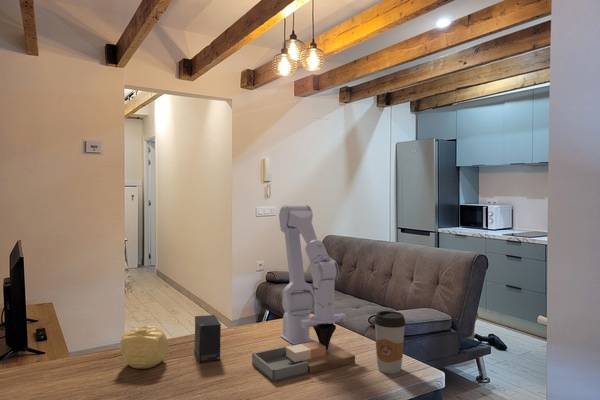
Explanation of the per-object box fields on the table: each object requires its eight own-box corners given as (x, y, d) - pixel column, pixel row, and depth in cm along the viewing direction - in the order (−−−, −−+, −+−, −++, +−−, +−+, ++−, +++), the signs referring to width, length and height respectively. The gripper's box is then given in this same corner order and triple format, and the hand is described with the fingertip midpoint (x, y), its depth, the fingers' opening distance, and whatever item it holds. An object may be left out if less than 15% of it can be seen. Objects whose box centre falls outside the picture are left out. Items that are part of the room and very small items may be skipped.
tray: (252, 363, 115) (252, 353, 115) (284, 356, 121) (284, 346, 121) (273, 382, 104) (273, 370, 104) (308, 373, 109) (308, 362, 109)
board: (284, 356, 121) (284, 349, 121) (327, 346, 129) (327, 340, 129) (310, 374, 109) (310, 366, 109) (355, 362, 117) (355, 355, 117)
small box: (221, 360, 118) (222, 323, 118) (198, 363, 115) (198, 326, 115) (215, 347, 128) (215, 313, 128) (193, 350, 125) (193, 315, 125)
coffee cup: (369, 371, 111) (370, 316, 111) (378, 360, 118) (379, 308, 118) (400, 378, 107) (401, 320, 107) (408, 366, 114) (408, 312, 114)
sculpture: (114, 373, 109) (114, 332, 109) (134, 355, 121) (134, 318, 121) (157, 373, 108) (157, 333, 108) (173, 356, 120) (173, 319, 120)
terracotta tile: (301, 352, 119) (301, 343, 119) (316, 349, 121) (316, 340, 121) (310, 358, 114) (310, 349, 114) (325, 355, 117) (325, 346, 117)
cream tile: (286, 355, 116) (286, 347, 116) (301, 352, 119) (301, 343, 119) (295, 362, 112) (295, 352, 112) (310, 358, 114) (310, 349, 114)
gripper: (310, 309, 112) (310, 358, 113) (352, 302, 120) (352, 348, 120) (297, 303, 118) (297, 350, 119) (338, 297, 126) (338, 341, 126)
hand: (323, 349), depth 120 cm, fingers closed
